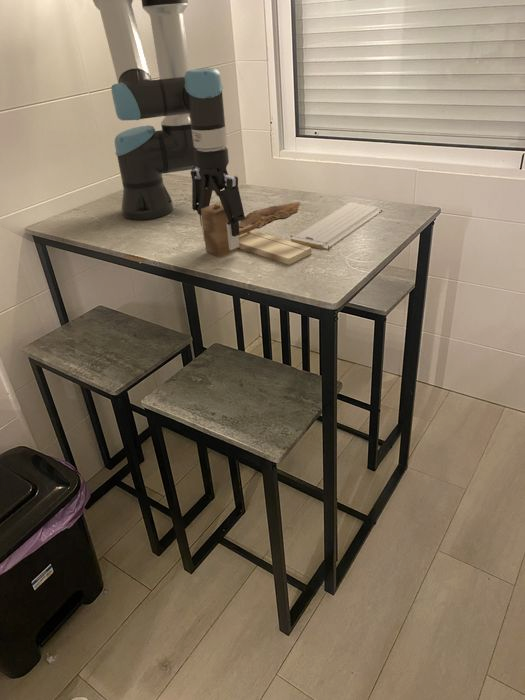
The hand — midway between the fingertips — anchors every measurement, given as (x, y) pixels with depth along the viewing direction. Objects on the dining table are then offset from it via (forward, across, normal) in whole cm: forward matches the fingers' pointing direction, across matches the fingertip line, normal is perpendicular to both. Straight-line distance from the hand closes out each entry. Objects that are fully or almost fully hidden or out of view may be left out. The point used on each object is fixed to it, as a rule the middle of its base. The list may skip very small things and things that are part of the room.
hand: (221, 243), depth 130 cm
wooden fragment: (+2, -8, +26) cm, 27 cm away
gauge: (+2, 0, +4) cm, 4 cm away
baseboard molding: (+3, +14, +30) cm, 33 cm away
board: (+2, +8, +8) cm, 11 cm away
